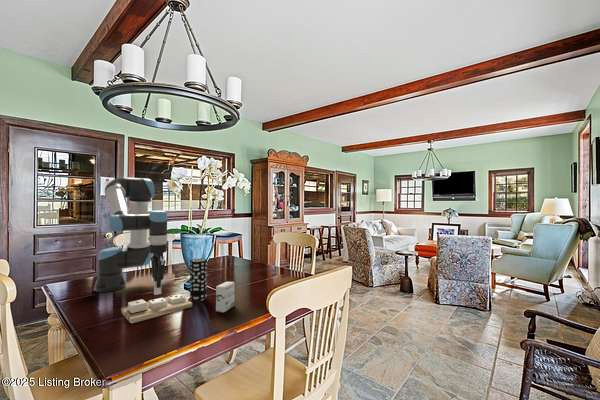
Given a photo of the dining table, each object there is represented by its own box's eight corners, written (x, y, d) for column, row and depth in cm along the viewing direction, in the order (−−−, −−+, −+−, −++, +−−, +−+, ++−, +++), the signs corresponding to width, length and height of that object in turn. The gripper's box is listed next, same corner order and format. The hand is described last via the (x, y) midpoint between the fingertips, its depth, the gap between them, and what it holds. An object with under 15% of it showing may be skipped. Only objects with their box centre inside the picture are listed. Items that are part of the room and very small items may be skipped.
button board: (121, 312, 126) (121, 308, 126) (179, 298, 144) (179, 294, 144) (130, 323, 114) (130, 318, 114) (192, 306, 133) (192, 302, 133)
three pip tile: (167, 302, 135) (167, 296, 135) (180, 299, 140) (180, 293, 140) (172, 306, 131) (172, 299, 131) (184, 303, 135) (184, 296, 135)
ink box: (226, 304, 136) (226, 280, 136) (235, 306, 134) (235, 281, 134) (215, 311, 128) (215, 285, 128) (224, 312, 126) (224, 287, 126)
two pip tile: (148, 307, 129) (148, 300, 129) (162, 303, 133) (162, 297, 134) (152, 310, 125) (152, 303, 125) (166, 307, 129) (166, 300, 129)
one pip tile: (127, 309, 123) (127, 302, 123) (142, 305, 127) (142, 298, 127) (131, 313, 119) (131, 305, 119) (146, 309, 123) (146, 302, 123)
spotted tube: (187, 298, 144) (187, 260, 144) (202, 294, 150) (202, 257, 150) (194, 302, 138) (194, 262, 139) (209, 298, 145) (210, 260, 145)
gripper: (145, 242, 131) (144, 292, 131) (154, 246, 122) (153, 299, 122) (161, 241, 137) (161, 288, 137) (171, 244, 127) (171, 295, 128)
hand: (157, 293), depth 129 cm, fingers closed
